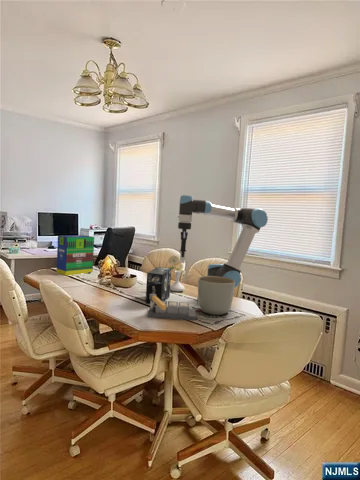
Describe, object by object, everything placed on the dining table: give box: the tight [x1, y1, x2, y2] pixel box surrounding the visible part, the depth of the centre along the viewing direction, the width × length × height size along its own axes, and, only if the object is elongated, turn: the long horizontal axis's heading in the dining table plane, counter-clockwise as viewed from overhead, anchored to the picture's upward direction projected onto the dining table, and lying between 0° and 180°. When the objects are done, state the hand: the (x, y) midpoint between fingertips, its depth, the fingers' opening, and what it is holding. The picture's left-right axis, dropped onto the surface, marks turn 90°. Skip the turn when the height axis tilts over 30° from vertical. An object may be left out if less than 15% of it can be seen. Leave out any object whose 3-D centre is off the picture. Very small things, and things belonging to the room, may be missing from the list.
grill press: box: [147, 300, 197, 321], centre depth 185 cm, size 25×14×7 cm, turn 91°
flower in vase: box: [167, 255, 186, 292], centre depth 241 cm, size 13×11×25 cm
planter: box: [197, 275, 235, 316], centre depth 195 cm, size 21×21×19 cm
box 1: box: [56, 234, 95, 276], centre depth 280 cm, size 25×14×30 cm, turn 140°
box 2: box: [145, 266, 172, 306], centre depth 213 cm, size 23×10×19 cm, turn 168°
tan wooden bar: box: [149, 294, 166, 310], centre depth 175 cm, size 22×4×2 cm, turn 20°
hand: (182, 262), depth 200 cm, fingers closed
